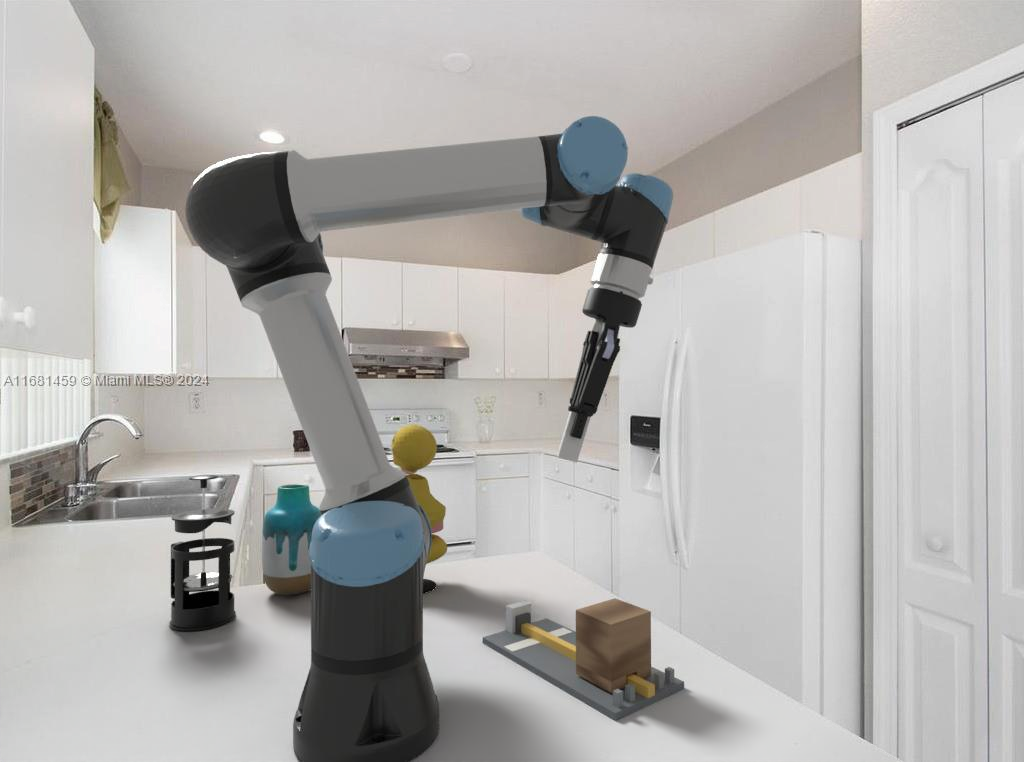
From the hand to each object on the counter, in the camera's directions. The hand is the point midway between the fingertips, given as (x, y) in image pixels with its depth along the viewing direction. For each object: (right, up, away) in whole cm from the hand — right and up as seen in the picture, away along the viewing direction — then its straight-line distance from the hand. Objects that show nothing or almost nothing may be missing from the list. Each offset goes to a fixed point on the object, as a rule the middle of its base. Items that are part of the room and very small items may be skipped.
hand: (566, 458), depth 84 cm
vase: (-47, -28, +26) cm, 61 cm away
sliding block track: (+1, -27, -3) cm, 27 cm away
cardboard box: (+5, -26, -8) cm, 27 cm away
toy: (-26, -28, +30) cm, 48 cm away
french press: (-57, -28, +13) cm, 65 cm away
